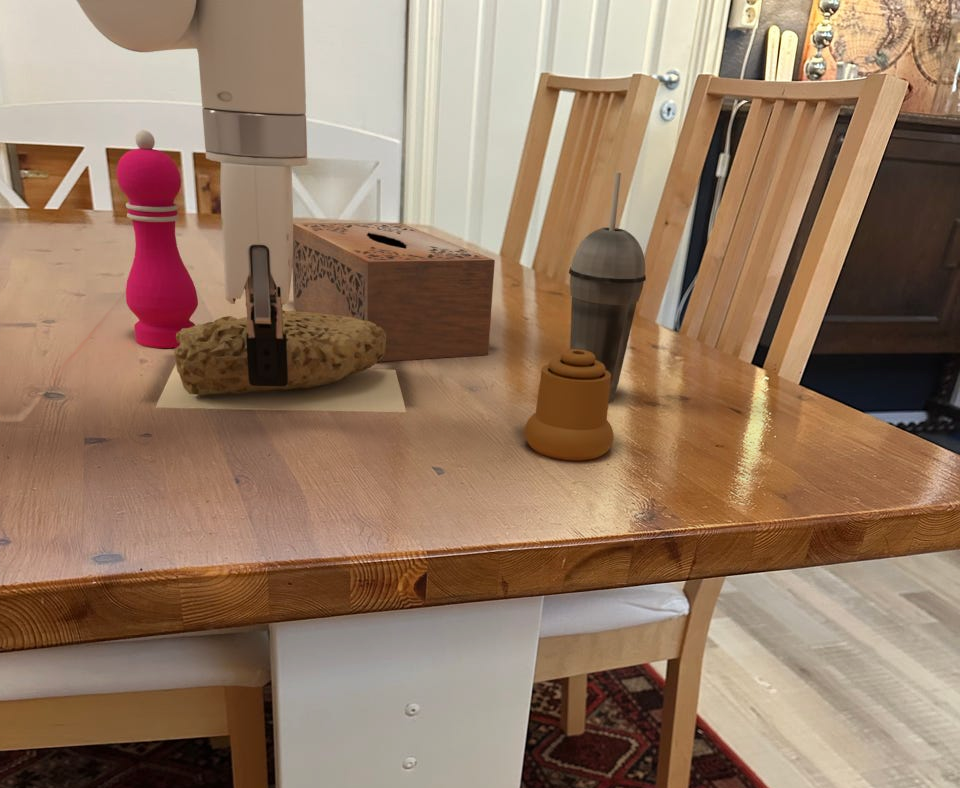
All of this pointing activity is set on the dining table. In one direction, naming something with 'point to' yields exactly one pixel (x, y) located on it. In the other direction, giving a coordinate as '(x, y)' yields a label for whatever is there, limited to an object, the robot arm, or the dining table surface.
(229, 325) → the sponge
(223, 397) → the board
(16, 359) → the dining table surface
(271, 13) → the robot arm
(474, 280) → the tissue box cover
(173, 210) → the pepper mill
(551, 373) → the ornamental finial
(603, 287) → the beverage cup
